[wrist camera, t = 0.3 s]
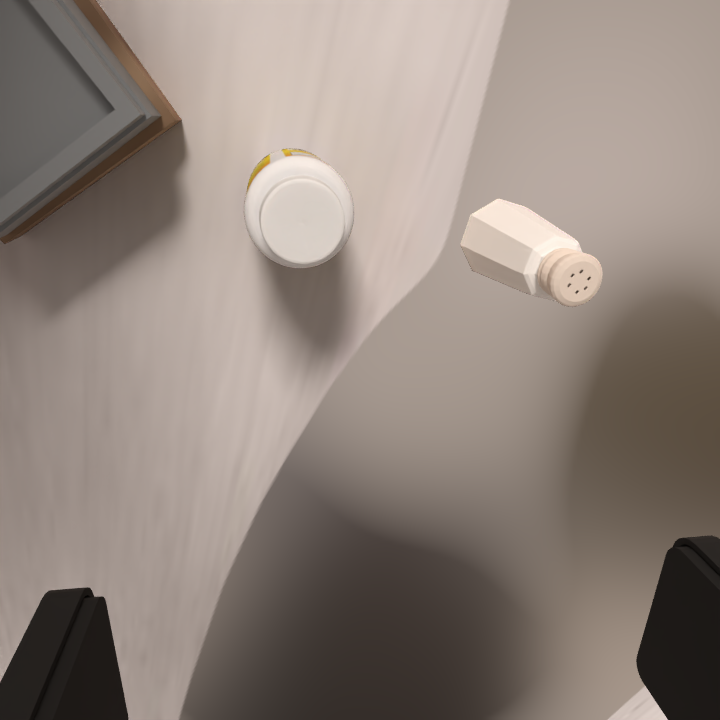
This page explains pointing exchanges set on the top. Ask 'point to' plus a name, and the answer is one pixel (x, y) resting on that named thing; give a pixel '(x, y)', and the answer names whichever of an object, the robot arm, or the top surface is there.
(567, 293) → the pepper shaker
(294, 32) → the top surface
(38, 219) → the tower base
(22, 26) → the tower top
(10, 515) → the top surface
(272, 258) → the supplement bottle
